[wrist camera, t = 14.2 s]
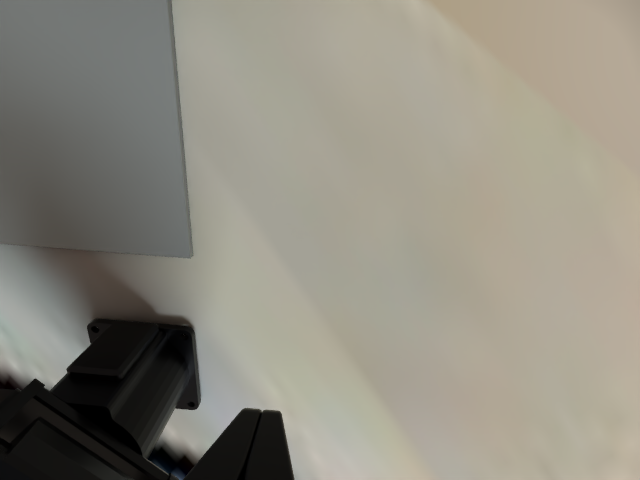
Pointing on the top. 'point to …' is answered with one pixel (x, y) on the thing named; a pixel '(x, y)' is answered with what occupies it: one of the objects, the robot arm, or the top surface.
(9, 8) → the grey flat panel
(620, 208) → the top surface
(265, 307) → the top surface
